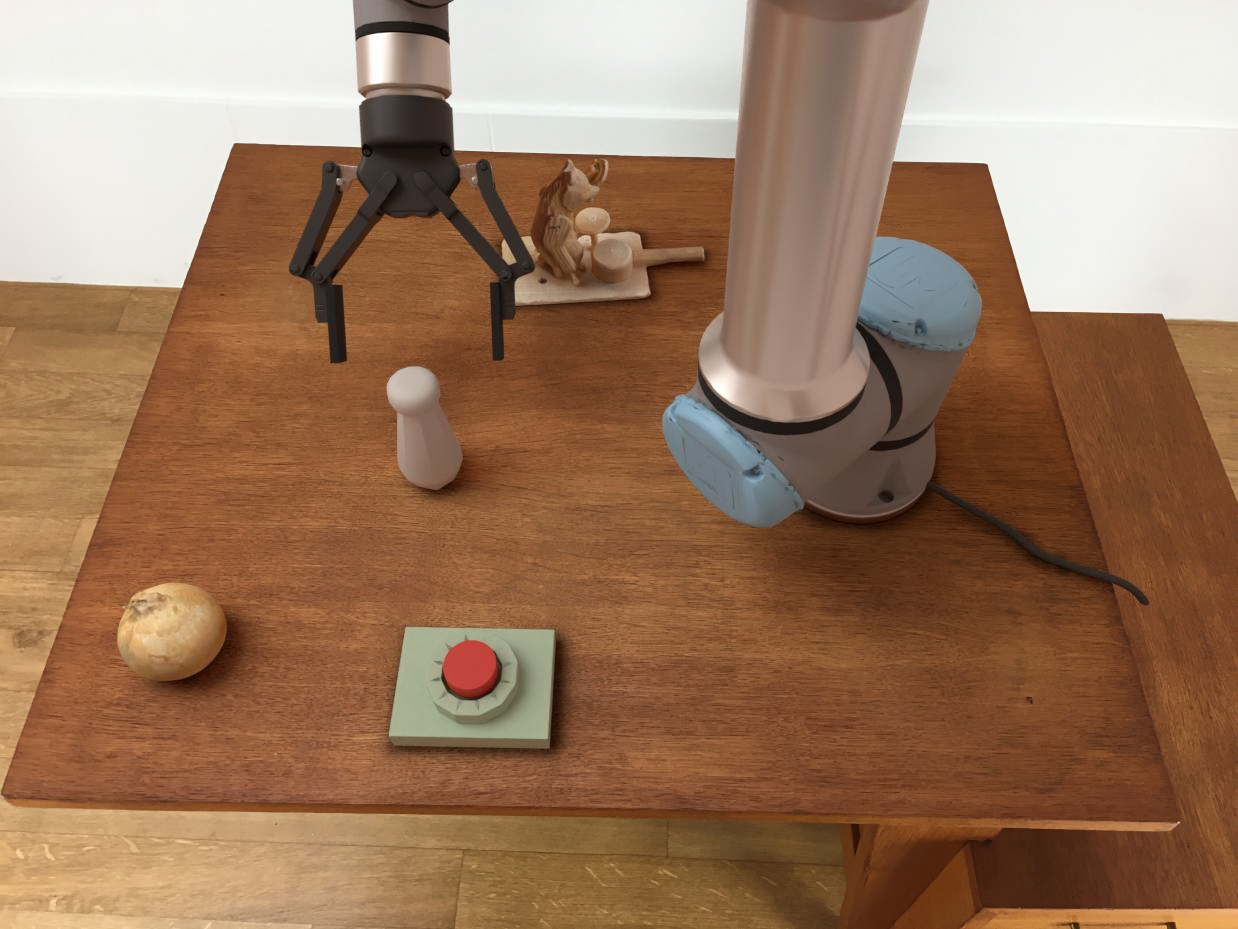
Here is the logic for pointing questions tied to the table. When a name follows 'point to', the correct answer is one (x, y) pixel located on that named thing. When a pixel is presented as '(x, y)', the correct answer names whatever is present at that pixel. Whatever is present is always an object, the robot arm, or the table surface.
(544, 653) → the switch base
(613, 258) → the wooden toy
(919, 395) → the robot arm
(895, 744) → the table surface
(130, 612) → the onion
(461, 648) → the switch
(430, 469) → the salt shaker
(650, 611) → the table surface
